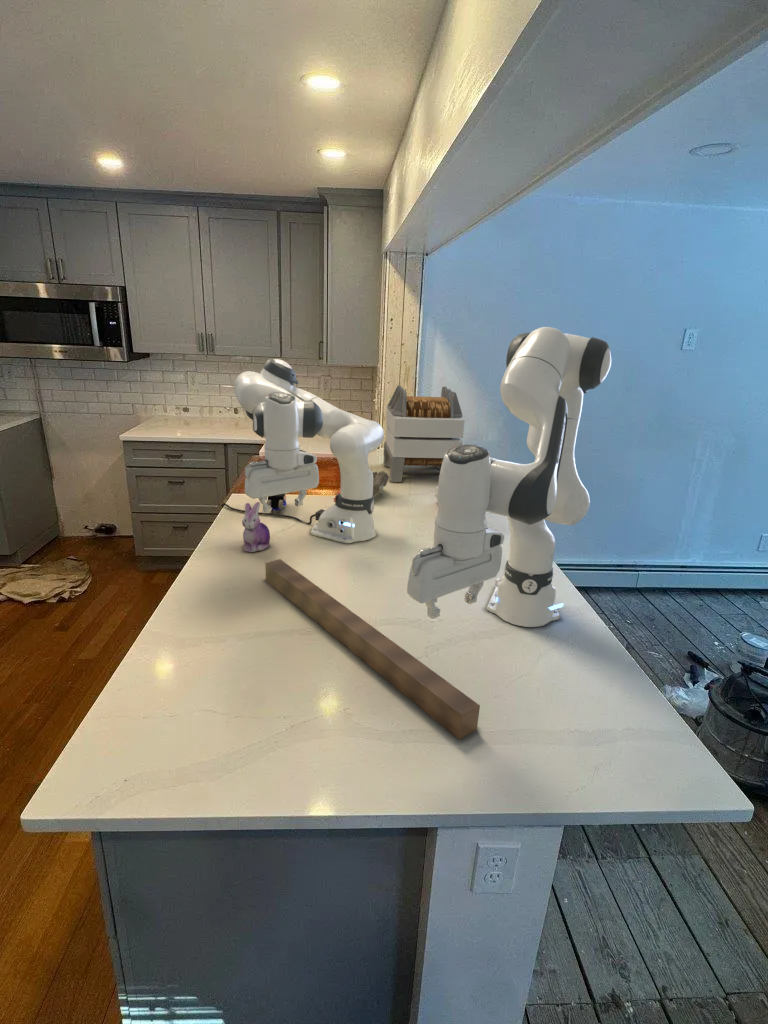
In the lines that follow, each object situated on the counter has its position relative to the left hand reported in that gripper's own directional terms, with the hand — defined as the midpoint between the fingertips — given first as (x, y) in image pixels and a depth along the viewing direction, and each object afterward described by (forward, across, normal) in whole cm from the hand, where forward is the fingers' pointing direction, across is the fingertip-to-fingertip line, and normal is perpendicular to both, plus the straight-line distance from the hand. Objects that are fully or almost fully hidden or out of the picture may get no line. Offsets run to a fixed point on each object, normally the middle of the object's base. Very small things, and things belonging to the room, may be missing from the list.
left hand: (283, 508), depth 150 cm
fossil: (+24, +71, +53) cm, 92 cm away
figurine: (+24, +6, +30) cm, 38 cm away
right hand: (0, 0, -64) cm, 64 cm away
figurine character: (+24, +29, +59) cm, 70 cm away
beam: (+24, 0, -32) cm, 40 cm away
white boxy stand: (+23, +112, +70) cm, 134 cm away
